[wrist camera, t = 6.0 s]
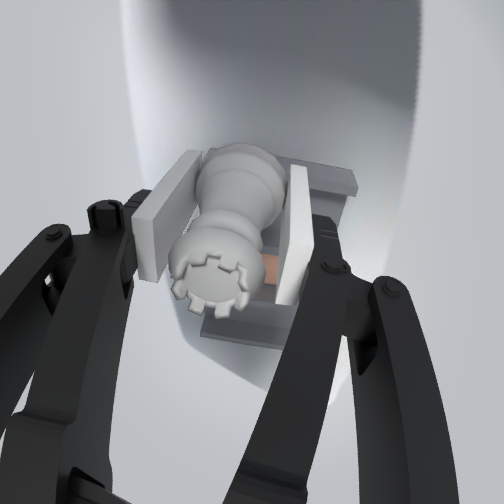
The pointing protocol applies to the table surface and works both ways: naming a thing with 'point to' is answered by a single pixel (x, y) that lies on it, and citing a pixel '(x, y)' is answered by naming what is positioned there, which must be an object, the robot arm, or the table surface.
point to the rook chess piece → (228, 230)
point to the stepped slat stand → (263, 304)
